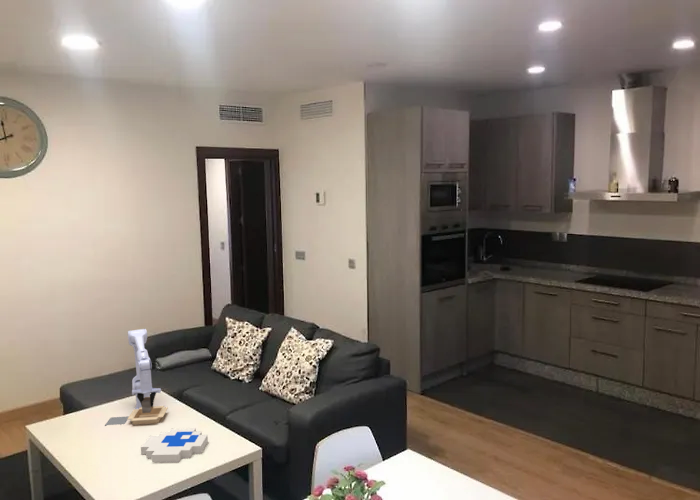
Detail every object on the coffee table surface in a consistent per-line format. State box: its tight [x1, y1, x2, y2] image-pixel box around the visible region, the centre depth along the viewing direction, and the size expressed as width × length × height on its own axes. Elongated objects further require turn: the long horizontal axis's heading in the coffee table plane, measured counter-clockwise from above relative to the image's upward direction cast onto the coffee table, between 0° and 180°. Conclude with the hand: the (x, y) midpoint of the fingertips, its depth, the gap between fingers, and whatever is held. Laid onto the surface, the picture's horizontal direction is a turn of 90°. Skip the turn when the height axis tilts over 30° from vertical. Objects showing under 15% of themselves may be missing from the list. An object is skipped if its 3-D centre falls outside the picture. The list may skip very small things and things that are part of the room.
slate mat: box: [104, 415, 130, 427], centre depth 310 cm, size 10×10×1 cm
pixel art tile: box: [140, 427, 209, 463], centre depth 277 cm, size 28×4×28 cm
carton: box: [127, 405, 169, 425], centre depth 311 cm, size 18×18×4 cm
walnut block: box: [142, 397, 153, 413], centre depth 311 cm, size 7×4×6 cm, turn 6°
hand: (147, 406), depth 311 cm, fingers closed on walnut block, 4 cm apart
